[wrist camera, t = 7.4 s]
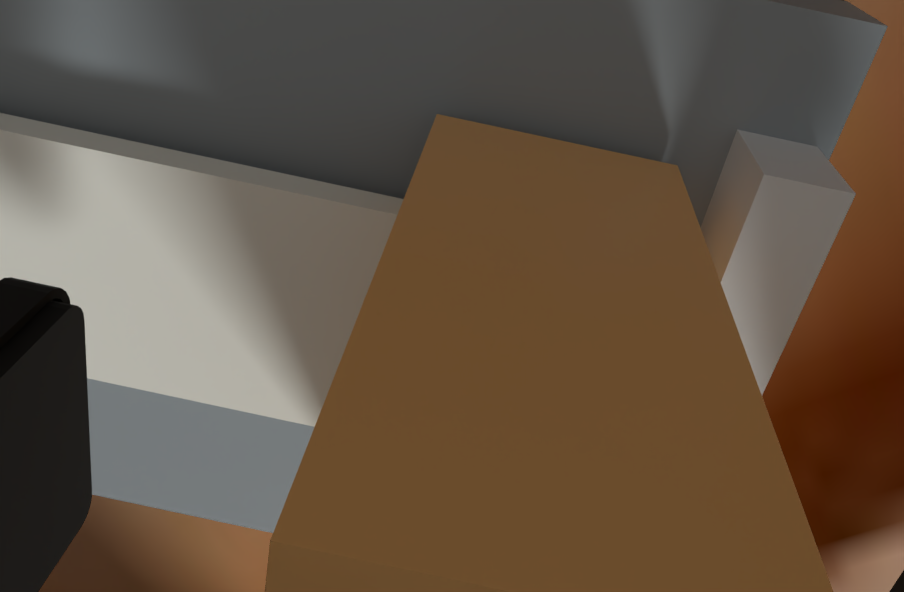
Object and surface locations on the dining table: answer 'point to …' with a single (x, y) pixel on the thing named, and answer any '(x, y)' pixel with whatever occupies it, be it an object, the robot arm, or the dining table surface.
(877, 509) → the dining table surface
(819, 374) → the dining table surface
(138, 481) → the track
